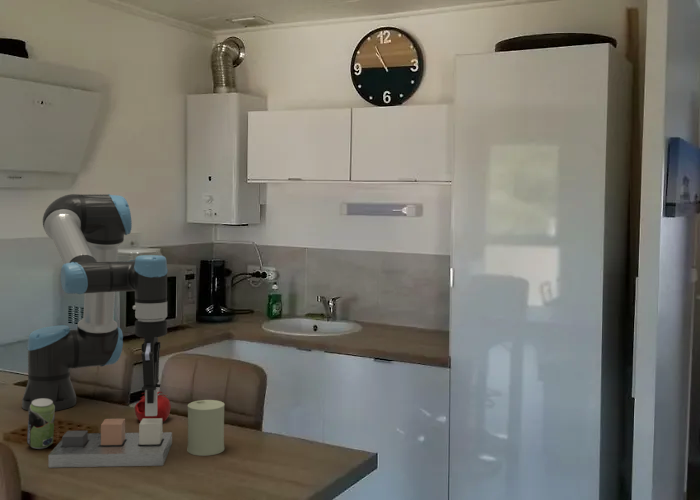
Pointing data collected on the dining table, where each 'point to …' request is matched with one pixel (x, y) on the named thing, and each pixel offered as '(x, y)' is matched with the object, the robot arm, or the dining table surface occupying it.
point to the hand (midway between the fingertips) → (151, 415)
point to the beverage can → (41, 423)
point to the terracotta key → (113, 432)
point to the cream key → (150, 431)
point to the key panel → (112, 453)
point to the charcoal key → (75, 439)
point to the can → (205, 427)
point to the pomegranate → (162, 408)
